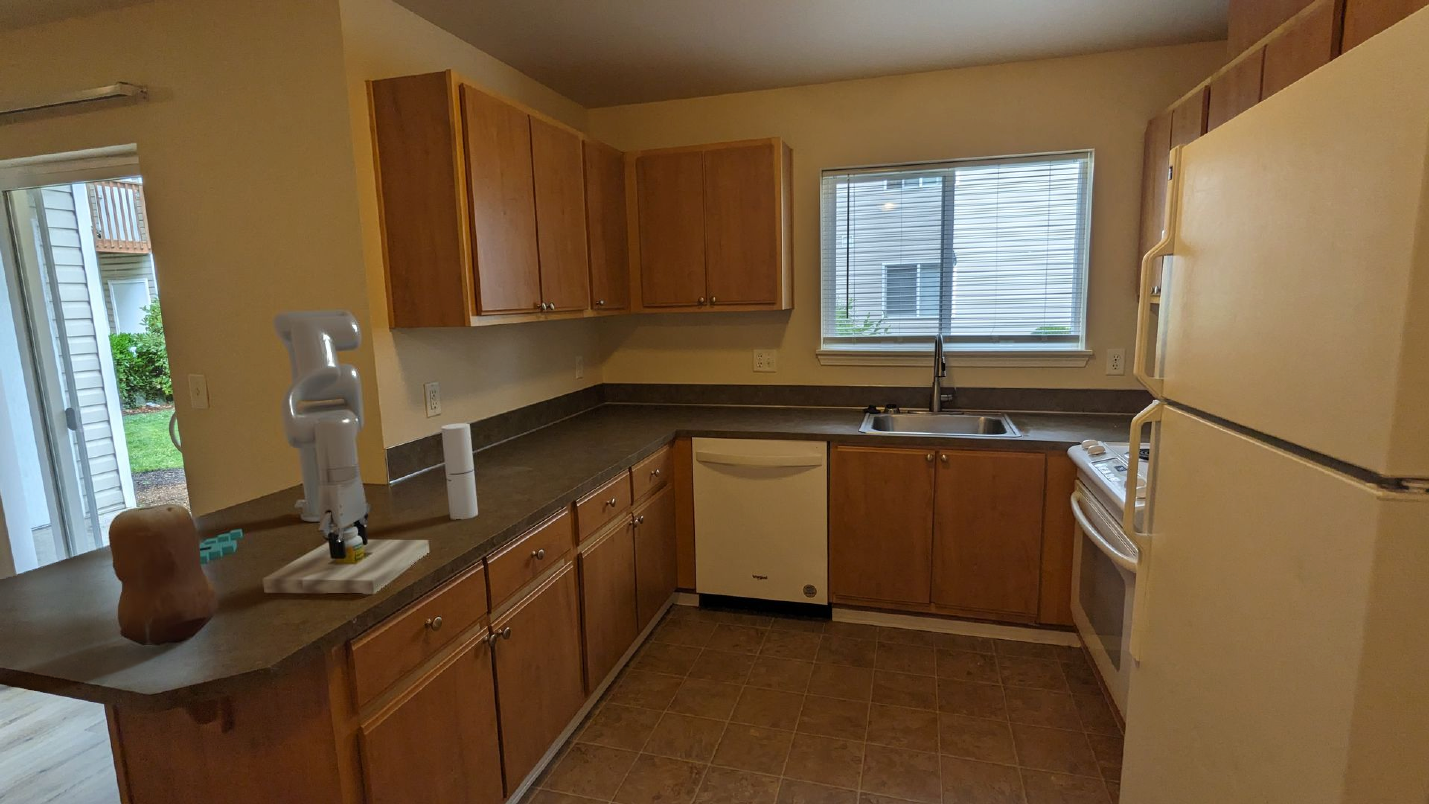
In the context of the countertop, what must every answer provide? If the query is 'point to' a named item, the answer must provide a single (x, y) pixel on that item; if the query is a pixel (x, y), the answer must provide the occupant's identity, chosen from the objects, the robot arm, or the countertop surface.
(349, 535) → the supplement bottle
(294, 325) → the robot arm
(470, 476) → the cylindrical container
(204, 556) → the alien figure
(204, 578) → the butternut squash
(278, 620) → the countertop surface
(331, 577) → the socket board
